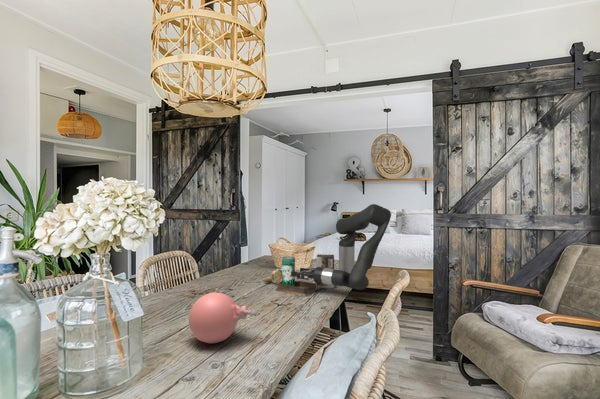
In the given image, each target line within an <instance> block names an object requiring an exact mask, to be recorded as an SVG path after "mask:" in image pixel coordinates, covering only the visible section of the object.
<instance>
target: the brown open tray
mask: <svg viewBox="0 0 600 399" xmlns="http://www.w3.org/2000/svg"><path fill="white" fill-rule="evenodd" d="M275 291H276V292H282V293H285V294H286V293H287V294H292V295H297V296H303V297H304V296H305V297H306V296H308V295H310V294H312V293H314V292H315V291H317V283H316V282H307V281H303V280H302V281H301V280H298V281H297V280H295V287H294V286H291V285H287V284H282V282H279V283H277V284H276V289H275Z"/></svg>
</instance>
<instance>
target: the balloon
mask: <svg viewBox="0 0 600 399" xmlns="http://www.w3.org/2000/svg"><path fill="white" fill-rule="evenodd" d="M252 314H253V312H252V310H250V309H249V308H248V306H247V305H243V306H239V305H238V304H237V303H235V302H234V300H233V299H232V298H231V297H230V296H229V295H226V294H225V293H222V292H210V293H206V294H204V295H202V296H200V297H199V298H198V299H197V300H195V302H194V303H193V305H192V306H191V309H190V311H189V314H188V327H189V329H190V331H191V333H192V335H193V336H194V337H195V338H196V339H197V340H199V341H200V342H202V343H205V344H217V343H221V342H224V341H225V340H227V338H229V337H230V336H231V335H232V334H233V333H234V331H235V330H236V327H237V326H238V325H237V324H238V322H239V321H240V320H245V319H246V318H247V316H249V315H250V316H251V315H252Z"/></svg>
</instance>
